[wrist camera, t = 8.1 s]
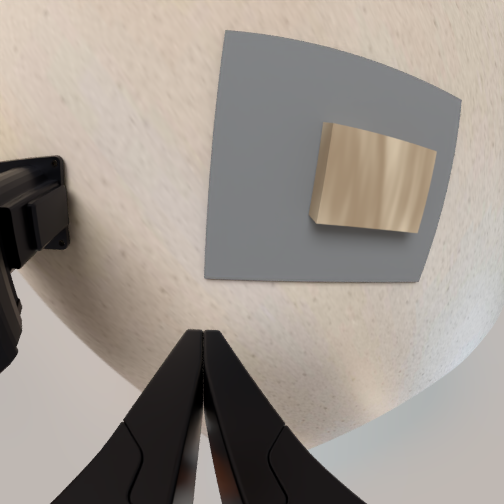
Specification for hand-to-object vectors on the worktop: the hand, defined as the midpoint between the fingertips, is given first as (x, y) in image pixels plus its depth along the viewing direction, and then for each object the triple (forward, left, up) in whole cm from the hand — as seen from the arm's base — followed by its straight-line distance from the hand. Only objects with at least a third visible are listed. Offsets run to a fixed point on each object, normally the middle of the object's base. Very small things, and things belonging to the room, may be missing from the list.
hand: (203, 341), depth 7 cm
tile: (+6, +3, -11) cm, 13 cm away
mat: (+9, +3, -12) cm, 15 cm away
